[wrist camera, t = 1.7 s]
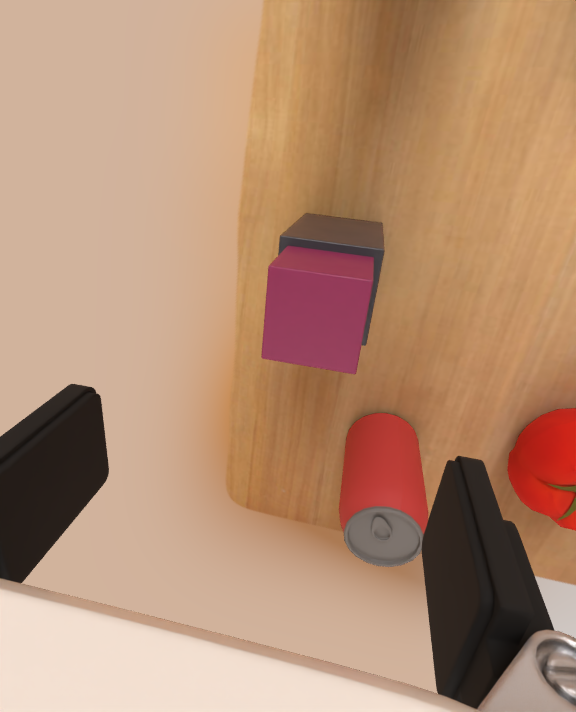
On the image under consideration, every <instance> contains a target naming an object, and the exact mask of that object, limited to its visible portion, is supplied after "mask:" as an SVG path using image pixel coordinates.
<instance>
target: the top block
mask: <svg viewBox="0 0 576 712" xmlns="http://www.w3.org/2000/svg"><path fill="white" fill-rule="evenodd" d="M373 272H374V258H373V257H368V256H360V255H353V254H346V253H338V252H331V251H324V250H317V249H309V248H302V247H295V246H287V247H286V248H285V249H284V250H283V251H282V252H281V253H280V255H279V256H278V257H277V258H276V259H275V260H274V261H273V262H272V263H271V264H270V265H269V267H268V280H267V293H266V306H265V319H264V332H263V345H262V358H263V359H268V360H274V361H280V362H286V363H292V364H297V365H303V366H309V367H315V368H321V369H327V370H333V371H338V372H344V373H350V374H356V371H357V366H358V360H359V355H360V350H361V344H362V339H363V334H364V328H365V323H366V318H367V312H368V307H369V302H370V296H371V291H372V286H373Z"/></svg>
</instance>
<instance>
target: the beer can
mask: <svg viewBox="0 0 576 712" xmlns="http://www.w3.org/2000/svg"><path fill="white" fill-rule="evenodd" d="M339 514H340V522H341V526H342V529H343V531H344V541H345V543H346V544H347V546H348V548H349V550H350V551H351V552H352V553H353V554H354V555H355V556H356V557H358V558H360V559H361V560H363V561H365V562H367V563H370V564H373V565H377V566H385V567H392V566H399V565H403V564H405V563H408V562H410V561H412V560H413V559H414V558H416V556H418V555H419V554H420V552H421V550H422V540H423V535H424V532H425V529H426V526H427V523H428V507H427V500H426V493H425V486H424V479H423V472H422V464H421V457H420V450H419V443H418V438H417V436H416V433H415V431H414V429H413V428H412V427H411V426H410V425H409V424H408V422H406V421H405V420H403V419H401V418H400V417H398V416H395V415H391V414H387V413H374V414H371V415H367V416H364V417H362V418H361V419H359V420H358V421H356V422H355V423H354V424H353V426H352V427H351V428H350V429H349V432H348V435H347V438H346V447H345V457H344V466H343V475H342V485H341V494H340V504H339Z"/></svg>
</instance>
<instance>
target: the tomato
mask: <svg viewBox="0 0 576 712" xmlns="http://www.w3.org/2000/svg"><path fill="white" fill-rule="evenodd" d="M507 470H508V475H509V479H510V481H511V484H512V486H513V488H514V490H515V492H516V494H517V495H518V497H519V498H520V500H521V501H522V502H523V503H524V504H525V505H527V506H528V507H529V508H530V509H532V510H534V511H536V512H539V513H542V514H544V515H548V516H550V517H551V518H552V519H553V520H554V521H555V522H556V523H557V524H558V525H559V526H560V527H564V528H568V529H572V530H576V408H571V409H557V410H554V411H552V412H549V413H546V414H543V415H541V416H540V417H538V418H537V419H536V420H534V421H533V422H532V423H530V424H529V425H528V426H527V427H526V428H525V429H524V430H523V432H522V433H521V434H520V435H519V437H518V439H517V442H516V445H515V447H514V449H513V450H512V451H511V452H510V454H509V461H508V469H507Z"/></svg>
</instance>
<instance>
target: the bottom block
mask: <svg viewBox="0 0 576 712" xmlns="http://www.w3.org/2000/svg"><path fill="white" fill-rule="evenodd" d="M287 246H295V247H302V248H309V249H317V250H324V251H331V252H338V253H346V254H353V255H360V256H368V257H373V258H374V272H373V286H372V291H371V296H370V302H369V307H368V312H367V318H366V323H365V328H364V334H363V339H362V344H361V345H364V346H366V343H367V338H368V333H369V328H370V323H371V318H372V312H373V307H374V302H375V297H376V292H377V287H378V281H379V276H380V271H381V266H382V261H383V256H384V238H383V225H382V223H378V222H370V221H362V220H355V219H347V218H339V217H331V216H323V215H315V214H308V213H306V214H304V215H303V216H302V217H301V218H300V219H299V220H298V221H296V222H295V223H294V224H293V225H292V226H291V227H290V228H288V229H287V230H286V231H285V232H284V233H283V234H282V235H281V236H280V242H279V253H278V256H279V255H280V253H281V252H282V251H283V250H284V249H285V248H286V247H287Z"/></svg>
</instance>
